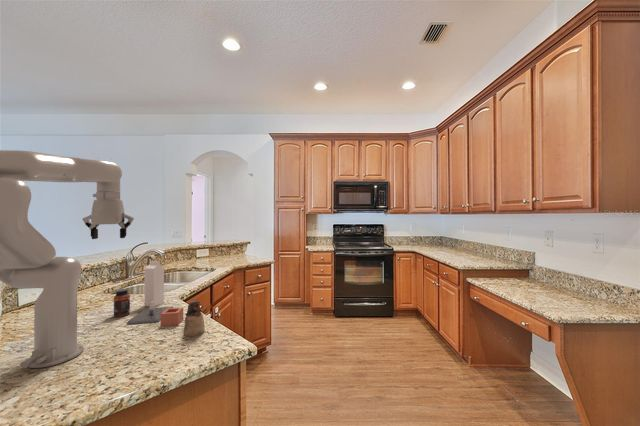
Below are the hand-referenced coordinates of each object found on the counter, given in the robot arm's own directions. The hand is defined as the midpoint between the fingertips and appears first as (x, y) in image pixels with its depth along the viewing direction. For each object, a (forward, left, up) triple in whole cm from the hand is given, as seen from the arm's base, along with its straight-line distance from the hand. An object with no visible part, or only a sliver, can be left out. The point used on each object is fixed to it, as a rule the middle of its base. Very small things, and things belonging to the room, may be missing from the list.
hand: (108, 238), depth 106 cm
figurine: (-14, -37, -36) cm, 53 cm away
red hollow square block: (-2, -25, -36) cm, 43 cm away
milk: (+25, -7, -36) cm, 44 cm away
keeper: (+8, -13, -36) cm, 39 cm away
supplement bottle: (+12, +1, -36) cm, 38 cm away
